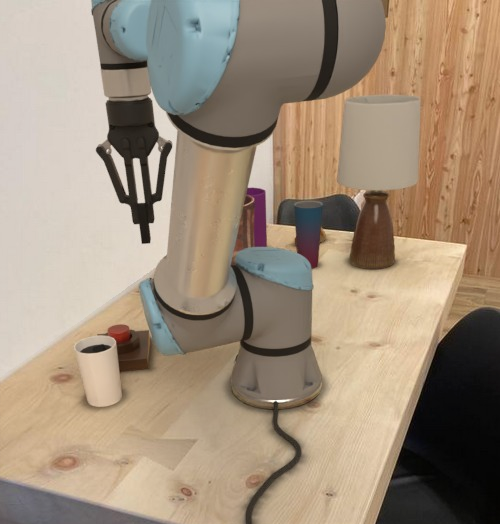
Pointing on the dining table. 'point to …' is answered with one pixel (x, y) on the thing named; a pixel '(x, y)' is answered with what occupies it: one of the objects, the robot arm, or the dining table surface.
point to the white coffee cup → (99, 370)
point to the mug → (259, 216)
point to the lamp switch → (119, 332)
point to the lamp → (378, 167)
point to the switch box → (133, 351)
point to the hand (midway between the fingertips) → (146, 241)
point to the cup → (308, 229)
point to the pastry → (322, 236)
